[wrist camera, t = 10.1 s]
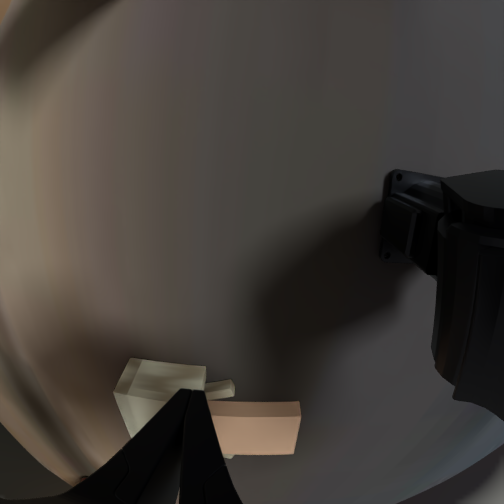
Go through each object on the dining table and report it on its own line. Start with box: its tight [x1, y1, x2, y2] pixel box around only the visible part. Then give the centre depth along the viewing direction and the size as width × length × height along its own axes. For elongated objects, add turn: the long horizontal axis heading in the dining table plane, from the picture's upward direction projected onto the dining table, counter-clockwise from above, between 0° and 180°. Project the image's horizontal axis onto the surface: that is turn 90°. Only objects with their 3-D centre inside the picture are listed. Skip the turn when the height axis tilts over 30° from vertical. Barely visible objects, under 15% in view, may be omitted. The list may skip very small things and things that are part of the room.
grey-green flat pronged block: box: [113, 358, 235, 459], centre depth 24 cm, size 9×15×4 cm, turn 178°
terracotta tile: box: [207, 400, 301, 455], centre depth 26 cm, size 14×7×2 cm, turn 90°
